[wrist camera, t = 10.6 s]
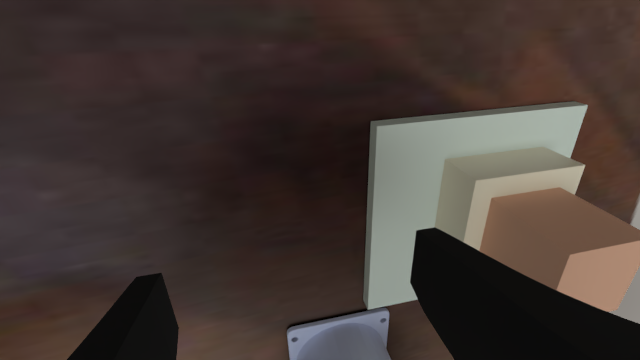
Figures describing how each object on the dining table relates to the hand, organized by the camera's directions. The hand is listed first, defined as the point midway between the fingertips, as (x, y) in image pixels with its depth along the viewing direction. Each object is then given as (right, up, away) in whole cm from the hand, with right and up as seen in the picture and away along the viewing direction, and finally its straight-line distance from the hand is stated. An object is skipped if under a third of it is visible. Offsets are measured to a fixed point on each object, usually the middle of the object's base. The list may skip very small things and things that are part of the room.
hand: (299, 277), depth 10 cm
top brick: (+12, 0, +11) cm, 16 cm away
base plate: (+10, +1, +14) cm, 18 cm away
